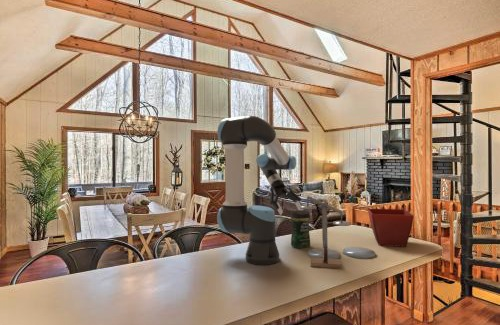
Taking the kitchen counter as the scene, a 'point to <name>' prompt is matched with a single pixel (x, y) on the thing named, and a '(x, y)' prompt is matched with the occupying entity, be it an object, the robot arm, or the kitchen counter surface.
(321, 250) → the left dish
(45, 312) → the kitchen counter surface
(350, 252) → the right dish
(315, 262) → the balance
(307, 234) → the coffee jar
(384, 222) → the plant pot
